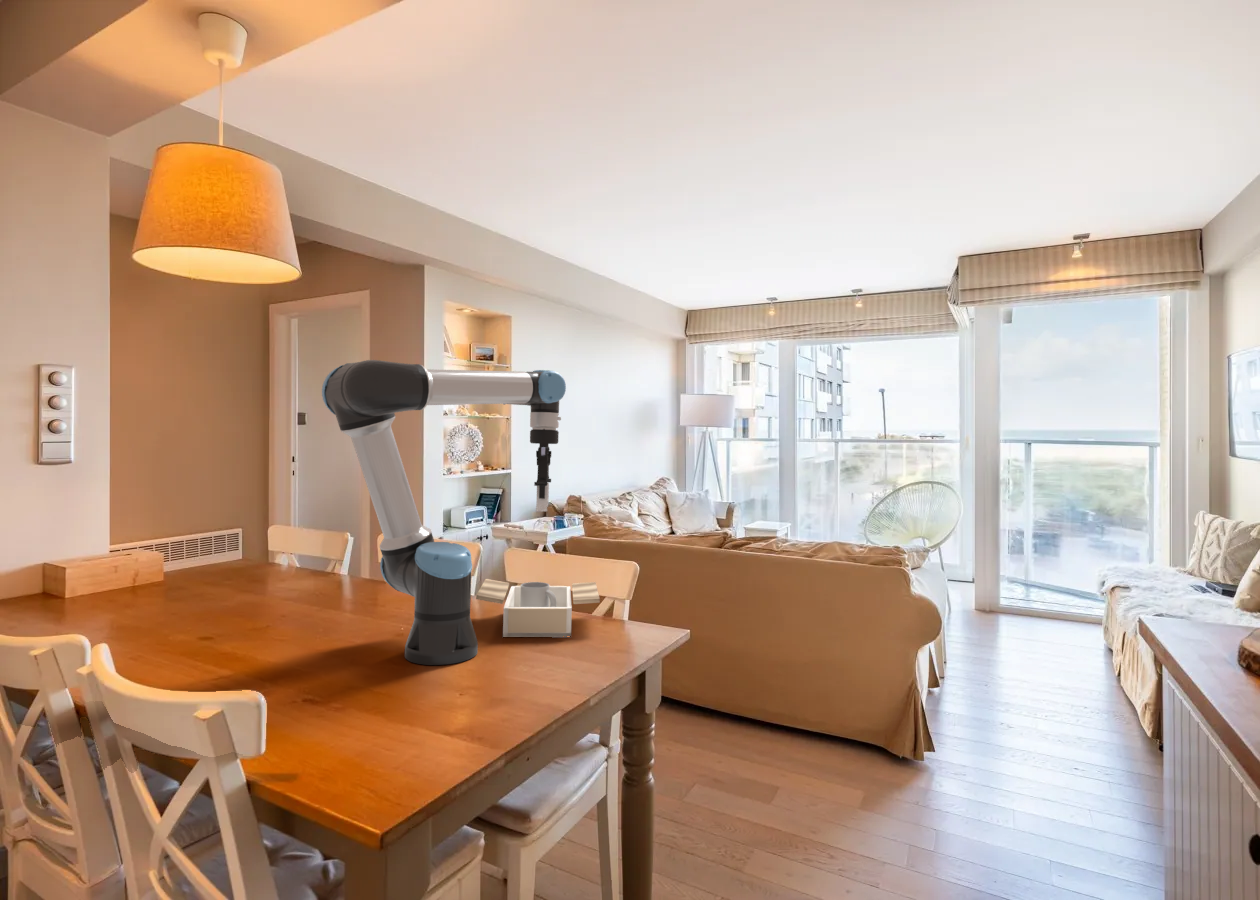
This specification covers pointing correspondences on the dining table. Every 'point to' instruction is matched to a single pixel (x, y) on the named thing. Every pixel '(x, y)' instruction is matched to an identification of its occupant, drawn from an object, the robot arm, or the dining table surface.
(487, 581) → the flap
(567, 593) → the carton
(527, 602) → the cup
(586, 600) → the flap
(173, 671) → the dining table surface
